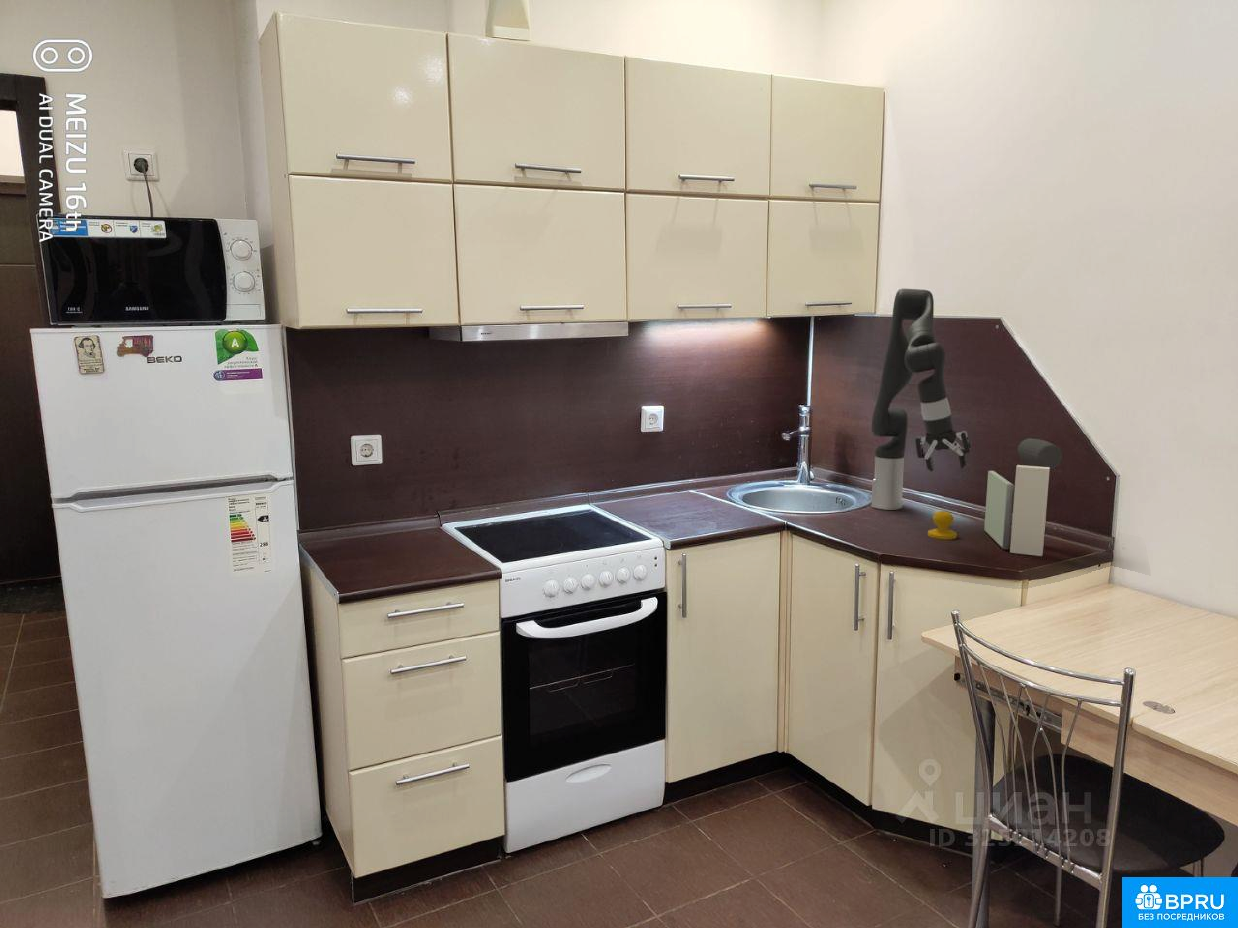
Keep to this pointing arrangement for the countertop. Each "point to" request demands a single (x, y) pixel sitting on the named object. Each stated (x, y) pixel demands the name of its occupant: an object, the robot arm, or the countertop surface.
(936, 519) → the doorknob
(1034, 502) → the panel
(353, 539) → the countertop surface
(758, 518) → the countertop surface
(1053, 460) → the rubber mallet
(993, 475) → the door
